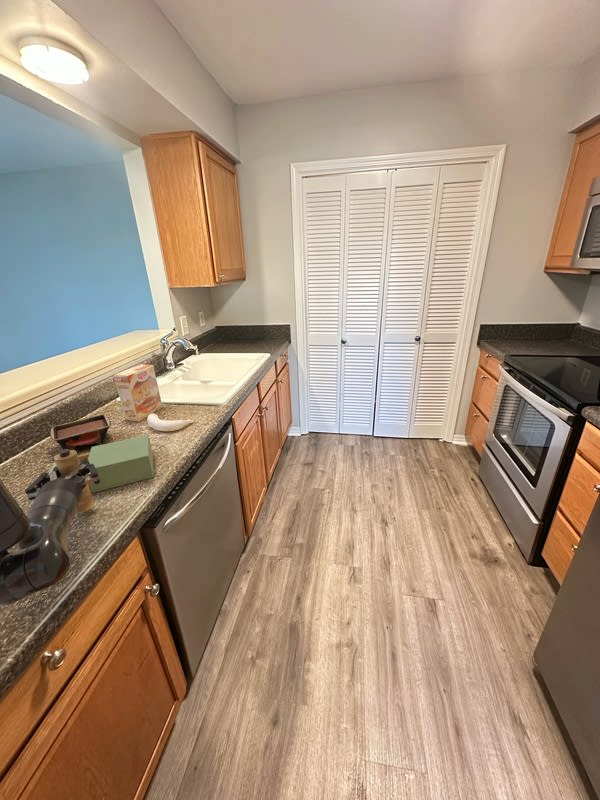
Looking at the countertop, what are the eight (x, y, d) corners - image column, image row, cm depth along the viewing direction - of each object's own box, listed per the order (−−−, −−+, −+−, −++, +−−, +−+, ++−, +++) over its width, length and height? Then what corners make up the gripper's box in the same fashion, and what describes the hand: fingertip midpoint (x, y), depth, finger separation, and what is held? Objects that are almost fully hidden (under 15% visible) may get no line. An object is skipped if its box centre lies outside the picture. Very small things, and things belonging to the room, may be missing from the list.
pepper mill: (72, 515, 78) (50, 458, 72) (76, 504, 82) (55, 449, 76) (93, 509, 80) (72, 453, 74) (96, 498, 83) (76, 444, 77)
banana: (141, 422, 129) (177, 411, 138) (160, 440, 116) (198, 426, 125) (139, 411, 127) (175, 400, 136) (157, 428, 114) (196, 415, 123)
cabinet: (91, 493, 88) (83, 470, 86) (98, 467, 100) (91, 446, 97) (153, 477, 94) (148, 455, 91) (153, 454, 106) (148, 434, 103)
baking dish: (113, 450, 114) (111, 423, 111) (50, 459, 104) (45, 430, 102) (111, 437, 125) (109, 412, 123) (54, 444, 116) (50, 417, 114)
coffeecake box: (139, 421, 130) (127, 375, 122) (124, 420, 132) (112, 374, 124) (163, 407, 143) (153, 364, 135) (150, 405, 145) (140, 363, 137)
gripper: (91, 480, 65) (101, 443, 80) (3, 502, 60) (32, 458, 75) (101, 510, 68) (110, 469, 83) (18, 533, 63) (43, 485, 78)
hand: (73, 464), depth 79 cm, fingers closed on pepper mill, 4 cm apart
